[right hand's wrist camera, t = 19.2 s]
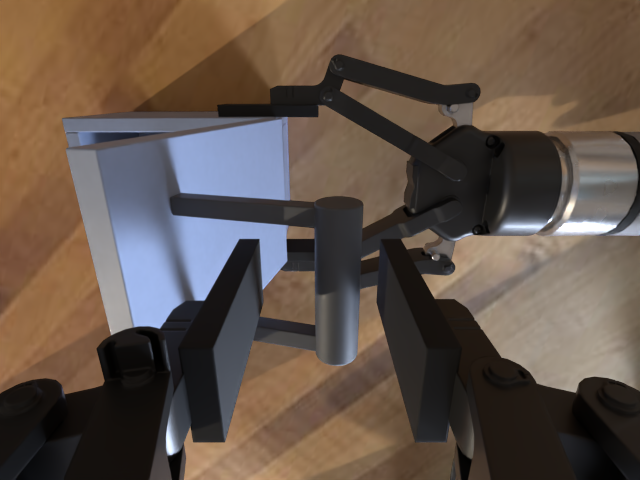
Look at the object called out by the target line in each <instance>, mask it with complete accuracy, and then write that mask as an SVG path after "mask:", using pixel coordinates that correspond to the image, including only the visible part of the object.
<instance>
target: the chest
mask: <svg viewBox="0 0 640 480" xmlns="http://www.w3.org/2000/svg"><path fill="white" fill-rule="evenodd" d="M263 118H281V119H282V136H283V162H284V189H285V200H290V184H289V154H288V124H287V117H219V116H218V111H204V112H122V113H112V114H101V115H90V116H80V117H69V118H62V121H63V125H64V130H65V132H66V137H67V141H68V145H69V147H76V146H83V145H89V144H96V143H103V142H109V141H116V140H123V139H129V138H136V137H143V136H149V135H156V134H163V133H169V132H176V131H183V130H189V129H196V128H203V127H210V126H216V125H223V124H230V123H236V122H243V121H250V120H256V119H263ZM287 230H288V225H286V234H287Z"/></svg>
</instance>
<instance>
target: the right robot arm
mask: <svg viewBox="0 0 640 480" xmlns="http://www.w3.org/2000/svg"><path fill="white" fill-rule="evenodd" d="M262 305H263V287H262V271H261V255H260V239H239V241H238V242H237V244H236V246H235V248H234V249H233V251H232V253H231V255H230V256H229V258H228V260H227V262H226V264H225V265H224V267H223V269H222V271H221V272H220V274H219V276H218V278H217V279H216V281H215V283H214V285H213V287H212V288H211V290H210V292H209V294H208V295H207V297H206V299H205V300H186V301H184V302H183V303H182V304H180V305H179V306H177V307H176V308H174V309H173V310H172V312H171V313H170V315H169V316H168V317H167V319H166V322H164V323H163V325H162V326H161V328H160V329H159V328H155V327H151V326H138V327H133V328H128V329H125V330H122V331H120V332H117V333H115V334H113V335H111V336H110V337H108V338H107V339H105V340H104V341H102V343H101V344H100V345H99V346H98V347H97V352H98V356H99V360H100V364H101V368H102V372H103V376H104V380H105V382H104V384H103V386H99V387H96V388H92V389H88V390H83V391H78V392H74V393H69V394H64V391H63V388H62V385H61V384H60V383H59V382H58V381H56V380H52V379H46V378H45V379H36V380H31V381H27V382H24V383H21V384H18V385H16V386H14V387H12V388H10V389H8V390H6V391H4V392H2V393H1V394H0V480H184V473H185V464H186V454H185V447H184V441H185V438H186V436H187V433H188V431H189V428H190V426H191V432H192V438H193V442H225V440H226V436H227V433H228V429H229V425H230V422H231V418H232V414H233V411H234V407H235V404H236V400H237V396H238V393H239V389H240V385H241V382H242V378H243V374H244V371H245V367H246V364H247V360H248V356H249V353H250V349H251V345H252V342H253V338H254V334H255V331H256V327H257V324H258V320H259V316H260V313H261V309H262ZM377 305H378V309H379V313H380V316H381V320H382V324H383V327H384V331H385V335H386V338H387V342H388V345H389V349H390V353H391V356H392V360H393V364H394V367H395V371H396V374H397V378H398V382H399V385H400V389H401V393H402V396H403V400H404V404H405V407H406V411H407V414H408V418H409V422H410V425H411V429H412V433H413V436H414V440H415V442H447V438H448V432H449V426H451V429H452V431H453V434H454V436H455V439H456V441H457V442H456V447H455V453H454V459H453V464H452V470H451V477H450V480H455V479H456V480H640V391H638V390H636V389H634V388H632V387H630V386H628V385H626V384H624V383H622V382H619V381H615V380H612V379H609V378H601V377H590V378H585V379H583V380H582V381H581V382H580V383H579V385H578V388H577V391H576V393H574V392H569V391H565V390H560V389H555V388H551V387H546V386H543V385H539V384H537V383H536V381H535V379H534V378H533V377H532V375H531V374H530V372H529V371H527V370H526V369H525V368H523V367H522V366H521V365H519V364H517V363H515V362H513V361H511V360H508V359H505V358H501V356H500V355H499V353H498V352H497V350H496V349H495V348H494V346H493V345H492V343H491V342H490V340H489V339H488V337H487V336H486V335H485V333H484V332H483V330H481V329H480V326H479V325H478V323H477V322H476V321H475V320H474V317H473V316H472V314H471V313H470V312H469V310H468V309H467V308H466V307H465V306H463V305H462V304H460V303H459V302H457V301H456V300H455V299H434V297H433V295H432V294H431V292H430V290H429V288H428V287H427V285H426V283H425V281H424V279H423V278H422V276H421V274H420V272H419V271H418V269H417V267H416V265H415V264H414V262H413V260H412V258H411V256H410V255H409V253H408V251H407V249H406V248H405V246H404V244H403V242H402V241H401V239H380V255H379V271H378V287H377Z"/></svg>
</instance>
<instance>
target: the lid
mask: <svg viewBox="0 0 640 480" xmlns="http://www.w3.org/2000/svg"><path fill="white" fill-rule="evenodd" d="M66 153H67V157H68V161H69V165H70V169H71V173H72V178H73V182H74V186H75V190H76V194H77V198H78V202H79V206H80V210H81V214H82V218H83V222H84V227H85V231H86V235H87V239H88V243H89V247H90V251H91V255H92V259H93V263H94V267H95V271H96V275H97V280H98V284H99V288H100V292H101V296H102V300H103V304H104V308H105V312H106V316H107V320H108V324H109V329H110V333H111V335H113V334H115V333H117V332H120V331H122V330H125V329H128V328H133V327H138V326H151V327H155V328H159V329H160V328H161V326H162V325H163V323H164V322H166V319H167V317H168V316H169V315H170V313H171V312H172V310H173V309H174V308H176V307H177V306H179V305H180V304H182V303H183V302H184V301H186V300H205V299H206V297H207V295H208V294H209V292H210V290H211V288H212V287H213V285H214V283H215V281H216V279H217V278H218V276H219V274H220V272H221V271H222V269H223V267H224V265H225V264H226V262H227V260H228V258H229V256H230V255H231V253H232V251H233V249H234V248H235V246H236V244H237V242H238V241H239V239H260V255H261V271H262V287H263V289H264V288H265V287H266V285H267V284H268V283H269V282H270V281H271V280H272V278H273V277H274V276H275V275H276V274H277V273H278V271H279V270H280V269H281V268H282V267H283V265H284V264H285V263H286V262H287V241H286V225H288V226H299V227H310V228H314V229H315V325H310V324H303V323H297V322H291V321H284V320H278V319H271V318H265V317H259V320H258V324H257V327H256V331H255V334H254V338H253V340H254V341H260V342H265V343H271V344H277V345H283V346H288V347H294V348H300V349H306V350H312V351H316V355H317V357H318V358H319V359H320V360H321V361H322V362H324V363H326V364H329V365H334V366H341V365H346V364H348V363H350V362H352V361H353V360H354V359H355V358H356V356H357V349H358V324H359V299H360V274H361V250H362V225H363V203H362V201H360V200H358V199H355V198H351V197H342V196H334V197H325V198H321V199H318V200H317V201H316V202H304V201H290V200H285V189H284V162H283V136H282V119H281V118H263V119H256V120H250V121H243V122H236V123H230V124H223V125H216V126H210V127H203V128H196V129H189V130H183V131H176V132H169V133H163V134H156V135H149V136H143V137H136V138H129V139H123V140H116V141H109V142H103V143H96V144H89V145H83V146H76V147H69V148H67V149H66Z"/></svg>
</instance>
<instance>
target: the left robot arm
mask: <svg viewBox="0 0 640 480" xmlns="http://www.w3.org/2000/svg"><path fill="white" fill-rule="evenodd" d="M344 79H345V80H348V81H351V82H355V83H358V84H362V85H365V86H369V87H372V88H375V89H379V90H382V91H386V92H389V93H392V94H396V95H399V96H403V97H406V98H410V99H413V100H416V101H420V102H424V103H428V104H438V111H439V113H440V114H441V115H443V116H447V117H449V118H451V119H452V121H453V126H451V127H450V128H448V129H447V130H445V131H444V132H443V133H441V134H440V135H438V136H437V137H435V138H434V139H432V140H431V141H430V142H428V143H427V142H425V141H423V140H422V139H420V138H418V137H417V136H415V135H413V134H411V133H410V132H408V131H406V130H405V129H403V128H401V127H399V126H398V125H396V124H394V123H393V122H391V121H389V120H388V119H386V118H384V117H383V116H381V115H379V114H378V113H376V112H374V111H373V110H371V109H369V108H368V107H366V106H364V105H362V104H361V103H359V102H357V101H356V100H354V99H352V98H351V97H349V96H347V95H346V94H344V93H342V92H341V91H340V89H341V86H342V83H343V80H344ZM479 96H480V88H479V86H478V85H477V84H475V83H465V84H453V85H442V84H438V83H435V82H432V81H428V80H425V79H421V78H418V77H415V76H411V75H408V74H405V73H401V72H398V71H395V70H391V69H388V68H385V67H381V66H378V65H375V64H371V63H368V62H365V61H361V60H358V59H354V58H351V57H348V56H344V55H339V54H338V55H335V56H334V57H333V58H331V61H330V63H329V66H328V69H327V72H326V75H325V78H324V80H323V81H322V82H321V83H320V84H318V85H315V86H276V87H274V88H271V89H270V98H271V104H222V105H217V106H218V116H219V117H318V105H326V106H327V107H329V108H331V109H333V110H334V111H336V112H338V113H339V114H341V115H343V116H345V117H346V118H348V119H350V120H351V121H353V122H355V123H357V124H358V125H360V126H362V127H363V128H365V129H367V130H369V131H370V132H372V133H374V134H375V135H377V136H379V137H381V138H382V139H384V140H386V141H387V142H389V143H391V144H393V145H394V146H396V147H398V148H399V149H401V150H403V151H405V152H406V153H408V154H410V155H411V158H410V160H409V161H407V168H406V172H407V178H408V184H407V187H406V189H405V193H404V202H405V205H403V206H401V207H400V208H398V209H396V210H395V211H394V212H393V213H392V214H390V215H389V216H387V217H385V218H383V219H381V220H379V221H377V222H375V223H373V224H371V225H369V226H367V227H365V228H363V229H362V250H361V258H363V257H365V256H367V255H369V254H371V253H373V252H375V251H377V250H379V249H380V239H402V238H404V237H412V236H414V235H416V234H418V233H420V232H422V231H424V230H426V229H428V228H429V229H430V230H432V231H433V232H434V233H436V234H437V235H438V236H439V238H438V239H437V240H436V241H434V242H430V243H426V244H425V246H424V248H413V249H408V250H407V251H408V253H409V255H410V256H411V258H412V260H413V262H414V264H415V265H416V267H417V269H418V271H419V272H420V274H433V275H450V274H452V273H453V272H454V270H455V265H454V263H453V262H452V261H451V258H452V254H453V250H454V245H455V241H457V240H460V239H462V238H464V237H467V236H470V235H482V236H529V235H533V234H537V235H541V236H576V235H596V236H605V235H625V236H640V132H617V131H549V132H546V133H542V132H539V131H481V130H479V129H477V128H476V127H474V126H472V113H473V102H475V101H476V100H477V99H478V98H479ZM286 241H287V262H286V263H285V264H284V265H283V267H282V268H281V269H280V270H283V271H315V239H286ZM378 271H379V257H375V258H371V259H367V260H363V261H361V274H360V289H362V288H366V287H371V286H375V285H378Z"/></svg>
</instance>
